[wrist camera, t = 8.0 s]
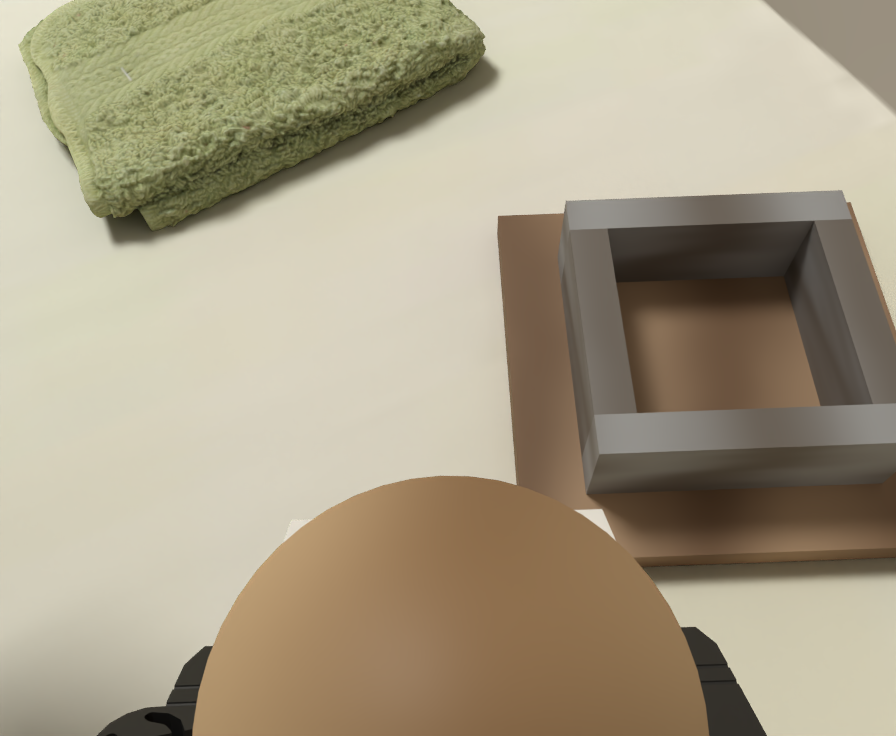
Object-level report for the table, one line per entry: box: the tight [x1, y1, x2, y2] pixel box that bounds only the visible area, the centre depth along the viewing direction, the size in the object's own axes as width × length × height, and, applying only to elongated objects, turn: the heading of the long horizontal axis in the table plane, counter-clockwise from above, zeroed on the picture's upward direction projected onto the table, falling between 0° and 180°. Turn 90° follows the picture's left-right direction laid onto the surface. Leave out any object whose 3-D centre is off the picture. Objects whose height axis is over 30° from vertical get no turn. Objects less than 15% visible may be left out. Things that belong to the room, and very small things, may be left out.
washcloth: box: [18, 0, 486, 231], centre depth 36 cm, size 13×18×3 cm
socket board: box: [497, 190, 896, 567], centre depth 27 cm, size 13×13×4 cm
